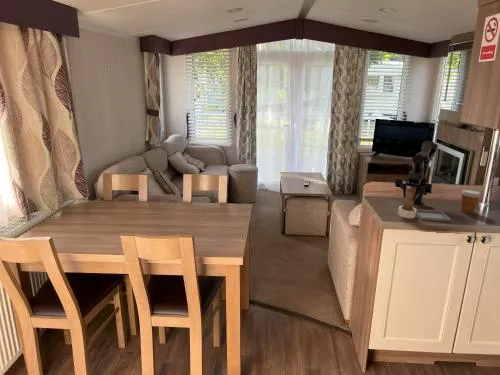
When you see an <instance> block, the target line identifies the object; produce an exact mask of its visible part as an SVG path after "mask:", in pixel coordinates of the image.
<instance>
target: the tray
mask: <svg viewBox="0 0 500 375" xmlns="http://www.w3.org/2000/svg"><path fill="white" fill-rule="evenodd" d="M415 209H416V208H415ZM416 210H417V211H416V217H418V219H420V220H421V221H430V222H431V221H432V222H446V223H450V222H451V218H450V217H449V216H448V215H447V214H445V212H443V211H442V210H430V209H416Z"/></svg>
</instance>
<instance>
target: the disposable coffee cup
mask: <svg viewBox="0 0 500 375" xmlns="http://www.w3.org/2000/svg"><path fill="white" fill-rule="evenodd" d="M480 198H481V192H480V191H478V190H475V189H470V188H468V189H466V188H465V189H462V191H461V200H460V201H461V203H460V211H461V212H463V213H465V214H473V213H474V211H475V209H476V207H477V204H478V202H479V199H480Z"/></svg>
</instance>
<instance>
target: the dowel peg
mask: <svg viewBox="0 0 500 375" xmlns="http://www.w3.org/2000/svg"><path fill="white" fill-rule="evenodd" d="M415 192H416V187H412V186H407V187H406V193H405V198H403V204H402V206H403V210H407V211H412V209H413V208H414V196H415Z"/></svg>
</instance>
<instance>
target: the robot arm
mask: <svg viewBox="0 0 500 375" xmlns="http://www.w3.org/2000/svg"><path fill="white" fill-rule="evenodd" d="M438 150H439V145H438V144H436V143H435V142H434V141H433V140H432V141H431V140H424V141H423V142H422V145H421V150H420V152H417V153H416V155H414V156H413V157H412V158H411V162H412V164H411V165H412V171H409V173H408V176H407V178H408V179H407V181H406V180H404V178H400V177H396V178H395V180H394V186H395V187H396V188H400V189H401V190H402V192H403V193H402V194H403V195H402V196H403V199H405V193H406V187H407V186H412V187H416V192H415V196H414V204H415V205H419V206H422V205H423V204H424V203H425V201H423V198H424V196H425V195H428V194H432V192H433V184H432V183H428V182H427V179H426V177H427V175H428V171H429V167H430V163H431V160H432V159H433V158H434V157H435V156H436V153H438ZM414 204H413V205H414Z"/></svg>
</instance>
